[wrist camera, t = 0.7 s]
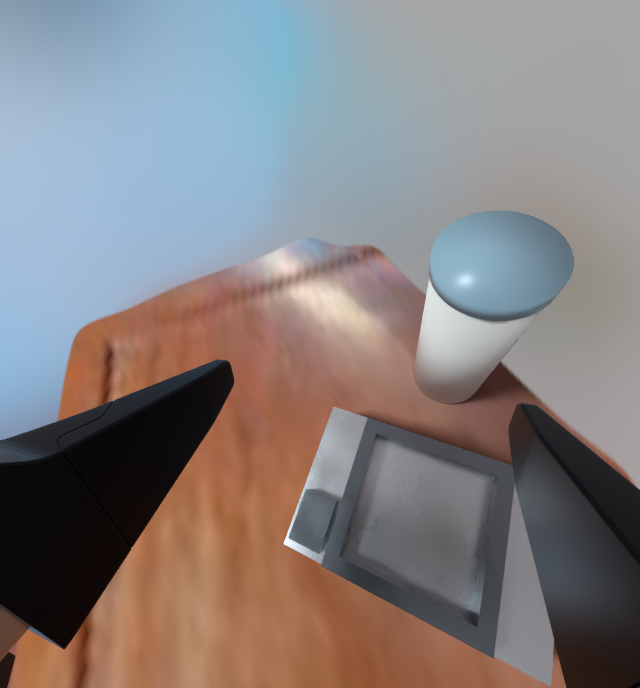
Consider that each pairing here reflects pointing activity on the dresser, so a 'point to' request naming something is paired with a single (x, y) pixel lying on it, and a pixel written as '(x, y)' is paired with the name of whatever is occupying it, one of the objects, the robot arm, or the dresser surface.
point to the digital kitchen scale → (427, 536)
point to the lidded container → (484, 297)
